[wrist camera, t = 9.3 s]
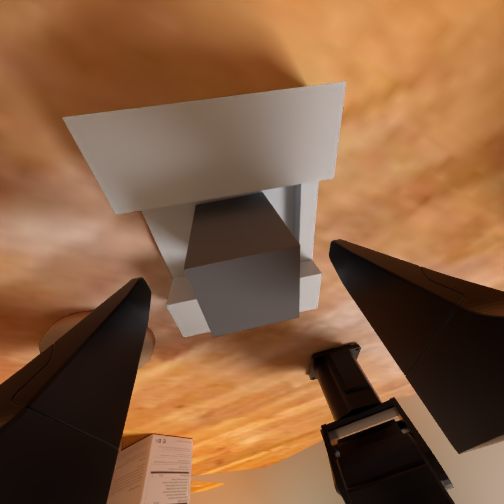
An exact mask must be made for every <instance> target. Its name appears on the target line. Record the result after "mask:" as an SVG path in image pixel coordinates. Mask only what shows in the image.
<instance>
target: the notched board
mask: <svg viewBox="0 0 504 504" xmlns="http://www.w3.org/2000/svg"><path fill="white" fill-rule="evenodd" d="M345 88H346V81H344V82H337V83H329V84H321V85H313V86H305V87H297V88H289V89H281V90H274V91H266V92H258V93H250V94H242V95H234V96H226V97H218V98H210V99H203V100H195V101H187V102H179V103H171V104H163V105H155V106H147V107H139V108H132V109H124V110H116V111H108V112H100V113H92V114H84V115H76V116H69V117H62V119H63V121H64V122H65V124H66V126H67V128H68V130H69V131H70V133H71V135H72V137H73V139H74V140H75V142H76V144H77V146H78V148H79V149H80V151H81V153H82V155H83V157H84V158H85V160H86V162H87V164H88V166H89V167H90V169H91V171H92V173H93V175H94V177H95V178H96V180H97V182H98V184H99V186H100V187H101V189H102V191H103V193H104V195H105V196H106V198H107V200H108V202H109V204H110V205H111V207H112V209H113V211H114V213H115V214H116V215H118V214H124V213H130V212H136V211H141V212H142V214H143V216H144V218H145V220H146V222H147V225H148V227H149V229H150V231H151V233H152V235H153V237H154V240H155V242H156V244H157V246H158V248H159V250H160V252H161V254H162V257H163V259H164V261H165V263H166V265H167V267H168V269H169V272H170V274H171V276H172V278H173V279H172V283H171V287H170V291H169V295H168V299H167V303H166V306H167V308H168V310H169V312H170V314H171V316H172V317H173V319H174V321H175V323H176V325H177V326H178V328H179V330H180V332H181V334H182V335H183V337H189V336H194V335H198V334H203V333H207V332H211V331H210V329H209V327H208V324H207V322H206V320H205V317H204V315H203V313H202V311H201V308H200V306H199V304H198V301H197V299H196V297H195V295H194V292H193V290H192V288H191V285H190V283H189V281H188V278H187V276H186V274H185V272H184V265H185V259H186V254H187V249H188V243H189V238H190V233H191V228H192V222H193V217H194V212H195V206H196V205H198V204H203V203H209V202H214V201H219V200H225V199H230V198H235V197H241V196H246V195H251V194H257V193H262V192H263V193H264V195H265V196H266V198H267V199H268V200H269V202H270V203H271V205H272V206H273V207H274V209H275V210H276V212H277V213H278V214H279V216H280V217H281V219H282V220H283V221H284V223H285V224H286V226H287V227H288V228H289V230H290V231H291V233H292V234H293V235H294V237H295V238H296V240H297V241H298V242H299V244H300V302H299V312H303V311H308V310H312V309H317V308H318V300H319V292H320V284H321V277H322V273H321V272H320V270H319V269H318V267H317V266H316V265H315V263H314V262H313V260H312V256H313V244H314V232H315V220H316V208H317V197H318V185H319V181H322V180H328V179H334V174H335V166H336V158H337V151H338V143H339V135H340V127H341V119H342V111H343V103H344V95H345Z"/></svg>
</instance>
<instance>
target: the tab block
mask: <svg viewBox="0 0 504 504" xmlns="http://www.w3.org/2000/svg"><path fill="white" fill-rule="evenodd" d="M184 272H185V274H186V276H187V278H188V281H189V283H190V285H191V288H192V290H193V292H194V295H195V297H196V299H197V301H198V304H199V306H200V308H201V311H202V313H203V315H204V317H205V320H206V322H207V324H208V327H209V329H210V331H211V334H212V336H213V337H217V336H221V335H225V334H230V333H234V332H238V331H243V330H247V329H251V328H255V327H260V326H264V325H268V324H273V323H277V322H281V321H285V320H290V319H294V318H298V317H299V302H300V244H299V242H298V241H297V240H296V238H295V237H294V235H293V234H292V233H291V231H290V230H289V228H288V227H287V226H286V224H285V223H284V221H283V220H282V219H281V217H280V216H279V214H278V213H277V212H276V210H275V209H274V207H273V206H272V205H271V203H270V202H269V200H268V199H267V198H266V196H265V195H264V193H263V192H262V193H257V194H251V195H246V196H241V197H235V198H230V199H225V200H219V201H214V202H209V203H203V204H198V205H196V206H195V212H194V217H193V222H192V228H191V233H190V238H189V243H188V249H187V254H186V259H185V265H184Z"/></svg>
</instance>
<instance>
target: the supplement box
mask: <svg viewBox="0 0 504 504" xmlns="http://www.w3.org/2000/svg"><path fill="white" fill-rule="evenodd" d="M192 449H193V439H188V438H181V437H173V436H165V435H157V434H151V435H150V436H148V437H146V438H144V439H142V440H140V441H138V442H137V443H135V444H133V445H131V446H129V447H127V448H126V449H124V450H122V451H121V452H120V455H119V459H118V463H117V466H116V469H115V470H114V474H113V478H112V482H111V487H110V491H109V495H108V500H107V504H190V486H191V467H192Z"/></svg>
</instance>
